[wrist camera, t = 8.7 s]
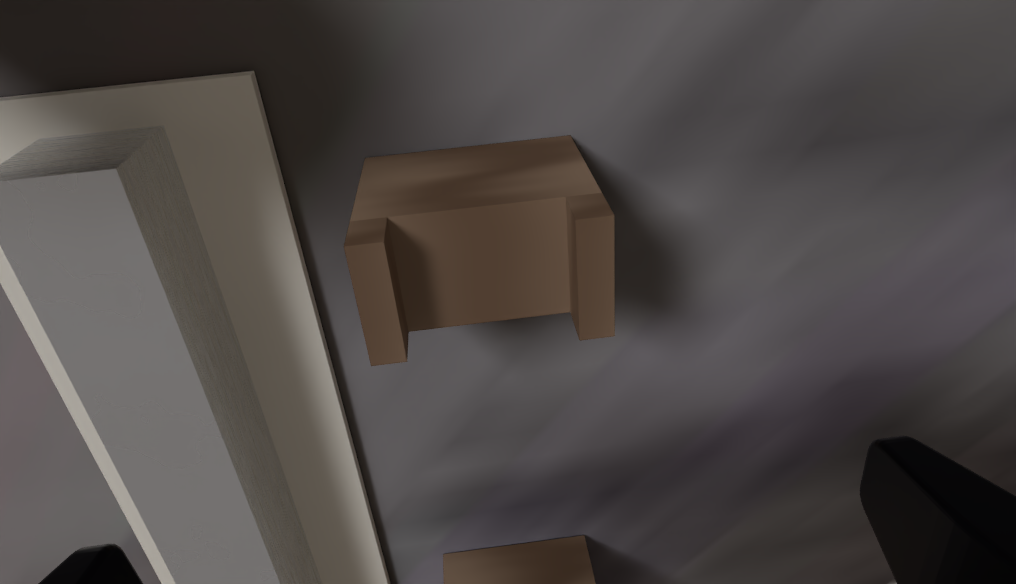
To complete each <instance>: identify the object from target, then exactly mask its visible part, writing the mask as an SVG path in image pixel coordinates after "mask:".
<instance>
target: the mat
mask: <svg viewBox="0 0 1016 584" xmlns="http://www.w3.org/2000/svg"><path fill="white" fill-rule="evenodd" d="M163 125H164V128H165V130H166V133H167V136H168V139H169V142H170V145H171V148H172V151H173V154H174V157H175V159H176V162H177V165H178V168H179V171H180V174H181V177H182V180H183V183H184V185H185V188H186V191H187V194H188V197H189V200H190V203H191V206H192V209H193V211H194V214H195V217H196V220H197V223H198V226H199V229H200V232H201V235H202V237H203V240H204V243H205V246H206V249H207V252H208V255H209V258H210V261H211V263H212V266H213V269H214V272H215V275H216V278H217V281H218V284H219V287H220V289H221V292H222V295H223V298H224V301H225V304H226V307H227V310H228V313H229V316H230V318H231V321H232V324H233V327H234V330H235V333H236V336H237V339H238V342H239V344H240V347H241V350H242V353H243V356H244V359H245V362H246V365H247V368H248V370H249V373H250V376H251V379H252V382H253V385H254V388H255V391H256V394H257V396H258V399H259V402H260V405H261V408H262V411H263V414H264V417H265V420H266V422H267V425H268V428H269V431H270V434H271V437H272V440H273V443H274V446H275V449H276V451H277V454H278V457H279V460H280V463H281V466H282V469H283V472H284V475H285V477H286V480H287V483H288V486H289V489H290V492H291V495H292V498H293V501H294V503H295V506H296V509H297V512H298V515H299V518H300V521H301V524H302V527H303V529H304V532H305V535H306V538H307V541H308V544H309V547H310V550H311V553H312V555H313V558H314V561H315V564H316V567H317V570H318V573H319V576H320V579H321V582H322V584H391V583H390V580H389V576H388V572H387V568H386V565H385V561H384V557H383V553H382V550H381V546H380V542H379V538H378V535H377V531H376V527H375V523H374V520H373V516H372V512H371V508H370V505H369V501H368V497H367V493H366V490H365V486H364V482H363V478H362V474H361V471H360V467H359V463H358V459H357V456H356V452H355V448H354V444H353V441H352V437H351V433H350V429H349V426H348V422H347V418H346V414H345V411H344V407H343V403H342V399H341V396H340V392H339V388H338V384H337V381H336V377H335V373H334V369H333V366H332V362H331V358H330V354H329V350H328V347H327V343H326V339H325V335H324V332H323V328H322V324H321V320H320V317H319V313H318V309H317V305H316V302H315V298H314V294H313V290H312V287H311V283H310V279H309V275H308V272H307V268H306V264H305V260H304V257H303V253H302V249H301V245H300V242H299V238H298V234H297V230H296V227H295V223H294V219H293V215H292V211H291V208H290V204H289V200H288V196H287V193H286V189H285V185H284V181H283V178H282V174H281V170H280V166H279V163H278V159H277V155H276V151H275V148H274V144H273V140H272V136H271V133H270V129H269V125H268V121H267V118H266V114H265V110H264V106H263V103H262V99H261V95H260V91H259V88H258V84H257V80H256V76H255V72H254V71H247V72H238V73H228V74H219V75H209V76H200V77H190V78H181V79H171V80H161V81H152V82H142V83H133V84H123V85H114V86H104V87H95V88H85V89H75V90H66V91H56V92H47V93H37V94H28V95H18V96H9V97H0V164H1V163H3V162H4V161H6V160H8V159H9V158H11V157H12V156H14V155H15V154H17V153H18V152H20V151H21V150H23V149H24V148H26V147H27V146H29V145H31V144H32V143H34V142H35V141H37V140H38V139H42V138H51V137H60V136H70V135H79V134H88V133H98V132H107V131H117V130H126V129H135V128H145V127H154V126H163ZM0 283H1V285H2V287H3V289H4V291H5V292H6V294H7V296H8V298H9V300H10V302H11V304H12V306H13V307H14V309H15V311H16V313H17V315H18V317H19V319H20V320H21V322H22V324H23V326H24V328H25V330H26V332H27V333H28V335H29V337H30V339H31V341H32V343H33V345H34V347H35V348H36V350H37V352H38V354H39V356H40V358H41V360H42V361H43V363H44V365H45V367H46V369H47V371H48V373H49V374H50V376H51V378H52V380H53V382H54V384H55V386H56V388H57V389H58V391H59V393H60V395H61V397H62V399H63V401H64V402H65V404H66V406H67V408H68V410H69V412H70V414H71V415H72V417H73V419H74V421H75V423H76V425H77V427H78V429H79V430H80V432H81V434H82V436H83V438H84V440H85V442H86V443H87V445H88V447H89V449H90V451H91V453H92V455H93V456H94V458H95V460H96V462H97V464H98V466H99V468H100V470H101V471H102V473H103V475H104V477H105V479H106V481H107V483H108V484H109V486H110V488H111V490H112V492H113V494H114V496H115V497H116V499H117V501H118V503H119V505H120V507H121V509H122V511H123V512H124V514H125V516H126V518H127V520H128V522H129V524H130V525H131V527H132V529H133V531H134V533H135V535H136V537H137V538H138V540H139V542H140V544H141V546H142V548H143V550H144V552H145V553H146V555H147V557H148V559H149V561H150V563H151V565H152V566H153V568H154V570H155V572H156V574H157V576H158V578H159V579H160V581H161V583H162V584H176V583H175V581H174V579H173V578H172V576H171V574H170V572H169V570H168V568H167V566H166V564H165V562H164V560H163V558H162V556H161V554H160V552H159V551H158V549H157V547H156V545H155V543H154V541H153V539H152V537H151V535H150V533H149V531H148V529H147V527H146V525H145V524H144V522H143V520H142V518H141V516H140V514H139V512H138V510H137V508H136V506H135V504H134V502H133V500H132V499H131V497H130V495H129V493H128V491H127V489H126V487H125V485H124V483H123V481H122V479H121V477H120V475H119V473H118V472H117V470H116V468H115V466H114V464H113V462H112V460H111V458H110V456H109V454H108V452H107V450H106V448H105V447H104V445H103V443H102V441H101V439H100V437H99V435H98V433H97V431H96V429H95V427H94V425H93V423H92V421H91V420H90V418H89V416H88V414H87V412H86V410H85V408H84V406H83V404H82V402H81V400H80V398H79V396H78V394H77V393H76V391H75V389H74V387H73V385H72V383H71V381H70V379H69V377H68V375H67V373H66V371H65V369H64V368H63V366H62V364H61V362H60V360H59V358H58V356H57V354H56V352H55V350H54V348H53V346H52V344H51V342H50V341H49V339H48V337H47V335H46V333H45V331H44V329H43V327H42V325H41V323H40V321H39V319H38V317H37V315H36V314H35V312H34V310H33V308H32V306H31V304H30V302H29V300H28V298H27V296H26V294H25V292H24V290H23V289H22V287H21V285H20V283H19V281H18V279H17V277H16V275H15V273H14V271H13V269H12V267H11V265H10V263H9V262H8V260H7V258H6V256H5V254H4V252H3V250H2V248H1V246H0Z"/></svg>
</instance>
